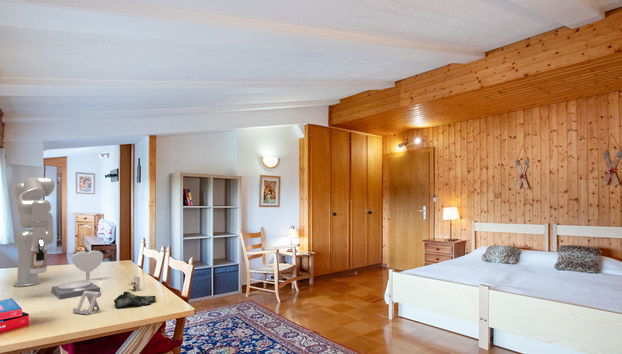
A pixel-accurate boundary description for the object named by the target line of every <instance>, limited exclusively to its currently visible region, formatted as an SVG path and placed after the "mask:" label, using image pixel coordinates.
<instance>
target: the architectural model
mask: <svg viewBox="0 0 622 354" xmlns="http://www.w3.org/2000/svg"><path fill="white" fill-rule="evenodd" d="M132 278H133V281H132V280H131V282H129V283H127V284H126V285H128V286H131V287H132V288H133V291H134V292H139V291H140V285H141V284H140V282H141V281H140V279H141V278H140V277H138V276H133V277H132Z"/></svg>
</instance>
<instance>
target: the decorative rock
mask: <svg viewBox="0 0 622 354" xmlns="http://www.w3.org/2000/svg"><path fill="white" fill-rule="evenodd" d="M156 299H157V298H156V296H155V295H135V294H134V293H131V292H130V291H123V293H122V294H120V295H118V296H117V297H115V299H114V300H113V303H114V304H115V305H114V306H115V309H116V310H119V309H120V308H122V307H126V306H128V305H132V306H133V305H134V306H140V307H145V306H146V305H149V304H152V302H153V301H154V302H155V301H156Z"/></svg>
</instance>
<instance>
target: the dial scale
mask: <svg viewBox="0 0 622 354" xmlns="http://www.w3.org/2000/svg"><path fill="white" fill-rule="evenodd" d="M84 291H92V292H100V293H101V287H100V286H98V285H97V284H95V283H93V282H90V281H84V280H79V281H76V280H75V281H70V282H69V281H68V282H65V283H64V282H63V283H61V284H58V285H54V286H51V293H53V294H54V296H55V297H56V298H58V299H59V300H63V299H69V298H75V297H76V298H77V297H82V295H83V292H84Z"/></svg>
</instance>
